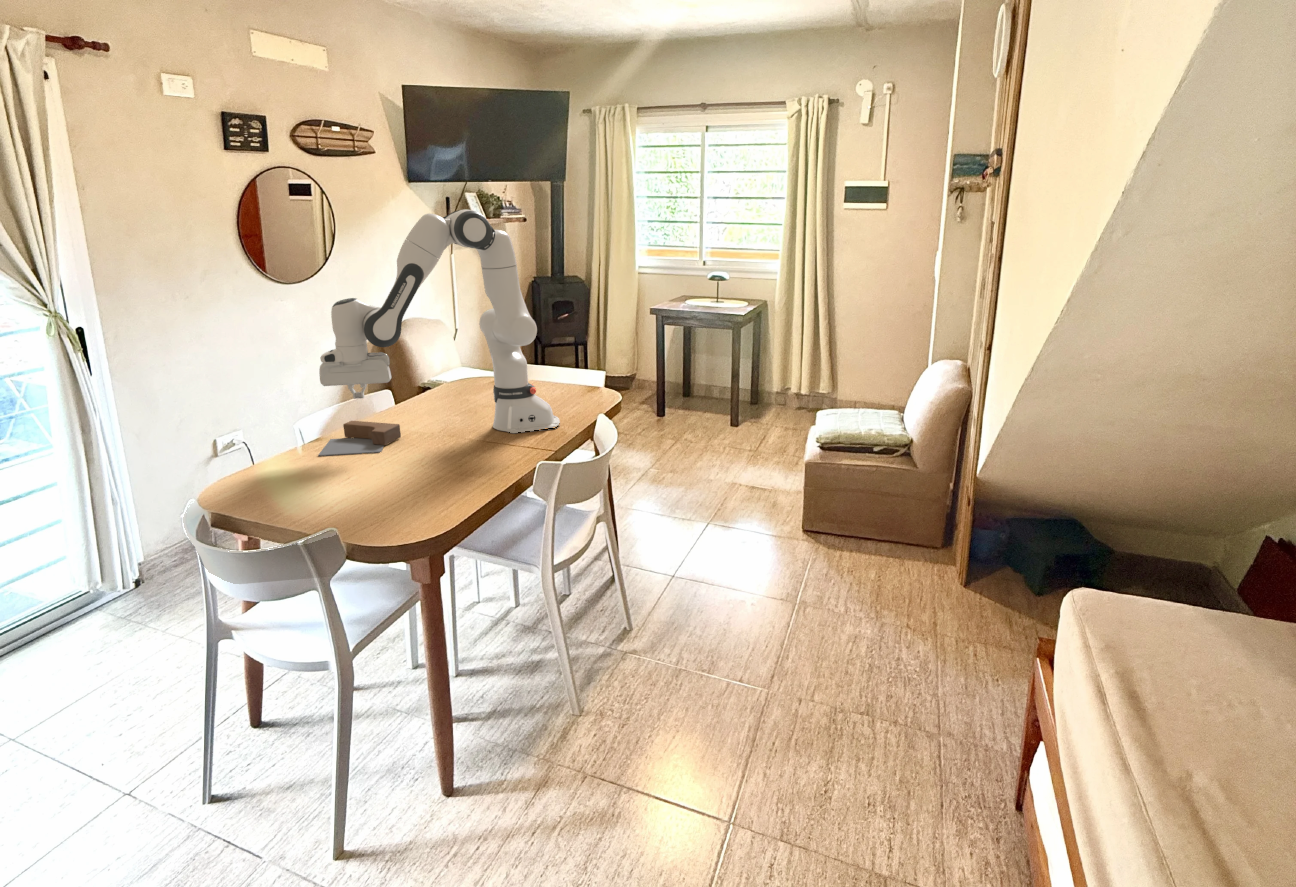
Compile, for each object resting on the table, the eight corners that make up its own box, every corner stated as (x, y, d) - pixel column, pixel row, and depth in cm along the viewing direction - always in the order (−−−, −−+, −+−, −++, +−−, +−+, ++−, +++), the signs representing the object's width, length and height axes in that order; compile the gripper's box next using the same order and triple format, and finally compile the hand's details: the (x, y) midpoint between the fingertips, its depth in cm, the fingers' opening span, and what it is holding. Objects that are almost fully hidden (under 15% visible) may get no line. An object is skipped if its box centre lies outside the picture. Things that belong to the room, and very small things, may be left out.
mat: (389, 436, 240) (389, 435, 240) (380, 452, 225) (380, 451, 225) (330, 440, 237) (330, 439, 237) (318, 456, 222) (318, 455, 222)
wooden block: (383, 432, 229) (333, 428, 233) (385, 445, 230) (335, 441, 235) (400, 423, 237) (351, 420, 242) (401, 437, 238) (353, 433, 243)
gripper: (390, 349, 227) (395, 393, 232) (319, 353, 224) (327, 397, 228) (386, 353, 221) (392, 398, 226) (314, 357, 218) (322, 402, 223)
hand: (359, 398), depth 227 cm, fingers closed
